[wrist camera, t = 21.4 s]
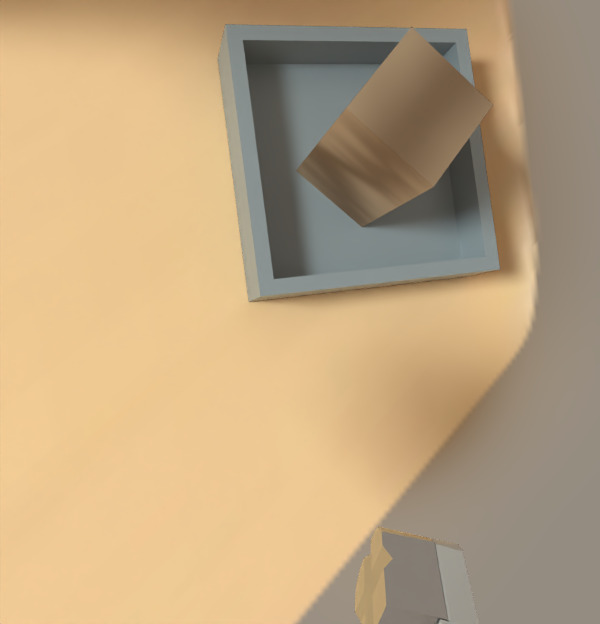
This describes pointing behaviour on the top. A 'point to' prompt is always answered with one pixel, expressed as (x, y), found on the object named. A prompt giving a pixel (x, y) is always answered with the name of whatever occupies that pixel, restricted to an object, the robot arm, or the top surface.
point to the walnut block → (396, 133)
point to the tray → (309, 200)
